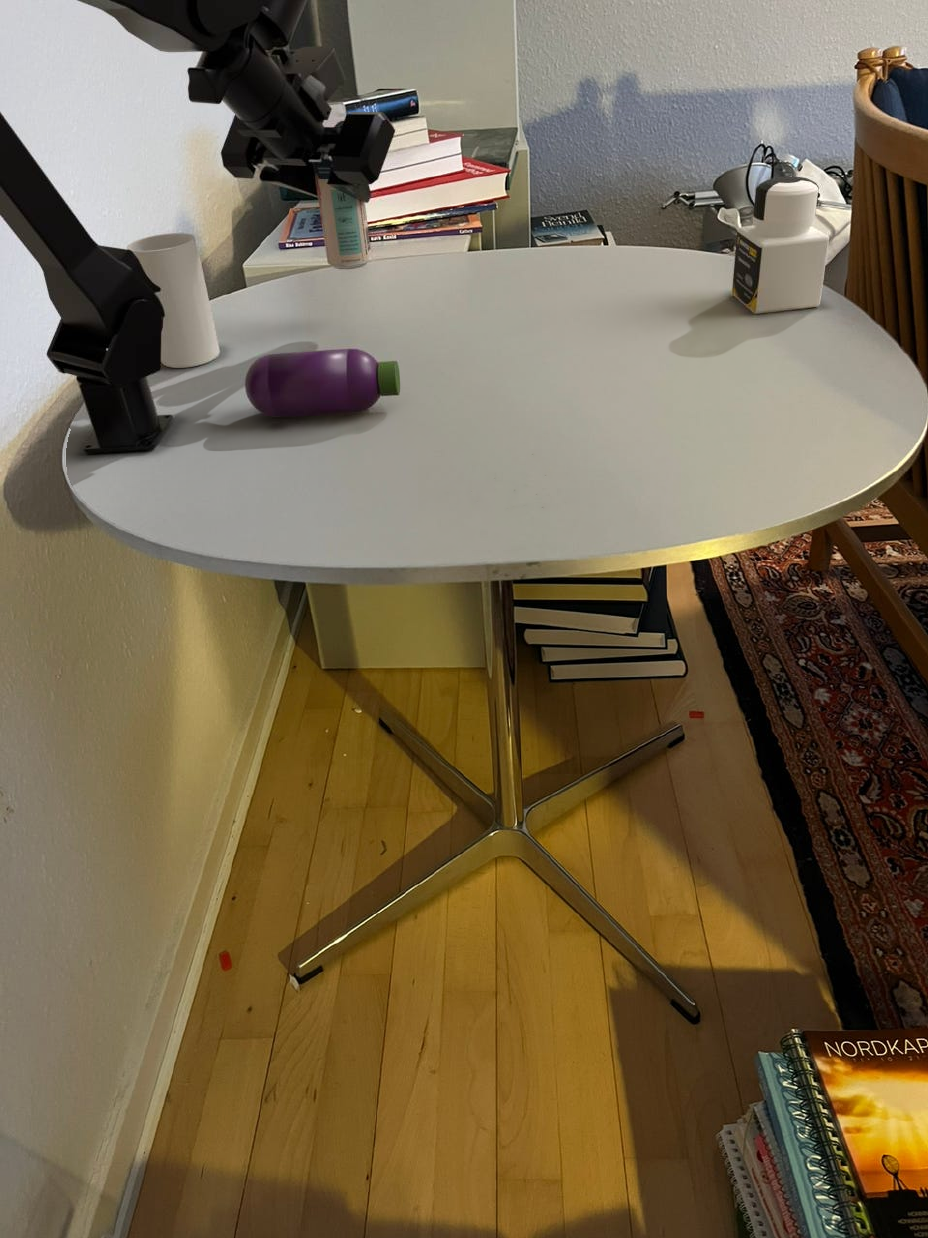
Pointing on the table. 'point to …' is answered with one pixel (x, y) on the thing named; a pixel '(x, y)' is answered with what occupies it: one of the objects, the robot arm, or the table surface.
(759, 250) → the medicine bottle
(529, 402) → the table surface
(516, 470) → the table surface
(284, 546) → the table surface
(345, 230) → the pink upright cylinder
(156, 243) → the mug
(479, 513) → the table surface
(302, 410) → the eggplant
